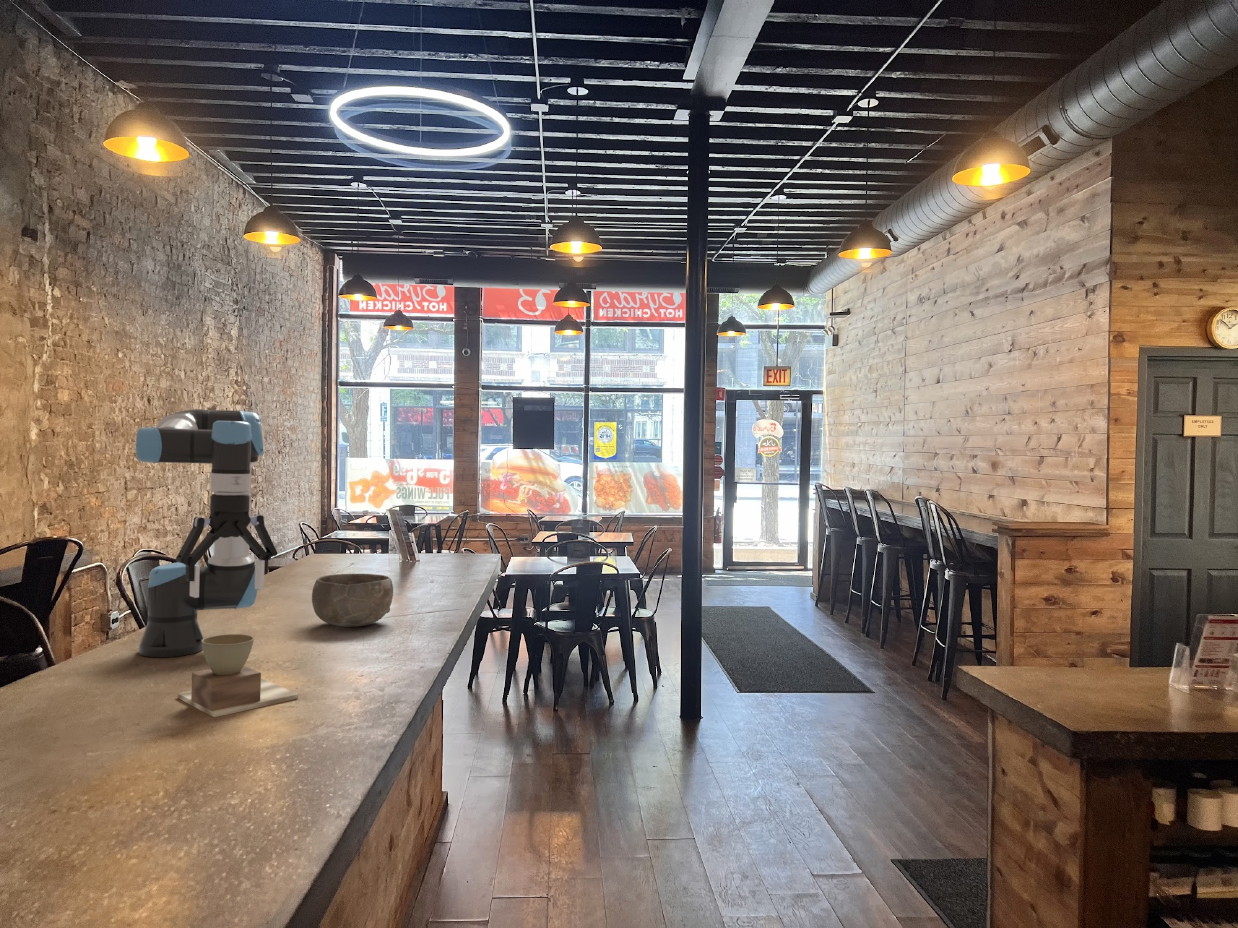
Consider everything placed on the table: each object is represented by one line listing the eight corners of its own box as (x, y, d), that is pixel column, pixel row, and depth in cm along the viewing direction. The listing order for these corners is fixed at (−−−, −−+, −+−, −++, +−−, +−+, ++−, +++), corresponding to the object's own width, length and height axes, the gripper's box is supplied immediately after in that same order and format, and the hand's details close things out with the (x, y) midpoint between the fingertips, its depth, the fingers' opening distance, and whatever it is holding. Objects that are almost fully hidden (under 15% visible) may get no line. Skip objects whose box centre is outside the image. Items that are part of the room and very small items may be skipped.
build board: (177, 697, 174) (177, 693, 174) (259, 681, 188) (259, 677, 188) (213, 717, 163) (213, 712, 163) (298, 698, 177) (298, 693, 177)
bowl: (409, 624, 255) (410, 577, 255) (346, 637, 234) (347, 586, 234) (358, 614, 268) (359, 569, 267) (294, 626, 247) (295, 577, 247)
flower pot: (231, 680, 165) (232, 645, 165) (189, 676, 167) (190, 642, 167) (263, 668, 174) (264, 635, 174) (223, 664, 177) (223, 632, 176)
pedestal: (191, 700, 170) (192, 672, 170) (238, 690, 178) (239, 663, 177) (211, 711, 163) (212, 681, 163) (260, 700, 171) (260, 672, 171)
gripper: (174, 495, 159) (172, 602, 159) (295, 493, 178) (292, 588, 178) (159, 493, 163) (157, 597, 164) (278, 491, 183) (275, 584, 183)
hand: (227, 593), depth 171 cm, fingers open, 13 cm apart
